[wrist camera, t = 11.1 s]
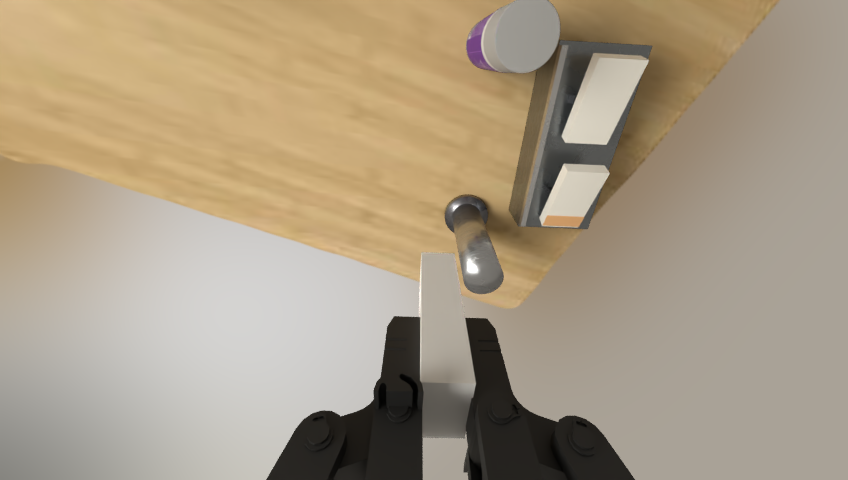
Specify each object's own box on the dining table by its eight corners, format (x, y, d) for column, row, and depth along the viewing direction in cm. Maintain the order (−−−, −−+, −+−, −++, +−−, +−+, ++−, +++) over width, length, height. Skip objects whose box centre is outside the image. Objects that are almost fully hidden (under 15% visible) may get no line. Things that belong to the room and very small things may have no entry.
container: (467, 72, 35) (493, 79, 22) (464, 22, 33) (491, -2, 20) (508, 66, 35) (559, 70, 22) (509, 15, 33) (565, -13, 20)
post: (446, 193, 43) (457, 252, 30) (489, 195, 43) (519, 254, 30) (443, 232, 46) (451, 300, 33) (483, 233, 46) (507, 302, 33)
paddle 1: (593, 52, 28) (599, 57, 27) (641, 55, 28) (649, 60, 27) (561, 136, 34) (565, 142, 33) (601, 138, 34) (606, 144, 33)
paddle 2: (563, 163, 33) (568, 171, 32) (604, 165, 33) (610, 173, 32) (539, 218, 39) (542, 226, 38) (574, 219, 39) (577, 228, 38)
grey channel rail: (542, 42, 34) (565, 39, 29) (623, 47, 34) (660, 45, 29) (508, 209, 44) (520, 230, 39) (571, 212, 44) (591, 233, 39)
